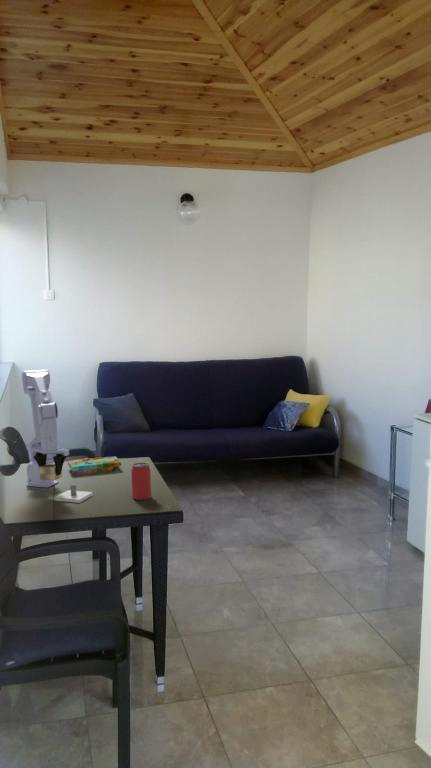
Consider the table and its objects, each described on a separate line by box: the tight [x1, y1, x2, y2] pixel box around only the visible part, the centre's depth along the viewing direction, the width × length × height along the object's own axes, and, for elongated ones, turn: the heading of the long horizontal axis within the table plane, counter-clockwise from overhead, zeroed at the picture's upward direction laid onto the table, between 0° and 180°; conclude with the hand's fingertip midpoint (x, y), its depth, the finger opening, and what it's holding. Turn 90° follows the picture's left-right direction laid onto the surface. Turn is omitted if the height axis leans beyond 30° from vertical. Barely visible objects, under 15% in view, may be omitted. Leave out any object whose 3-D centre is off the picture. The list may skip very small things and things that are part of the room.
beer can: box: [130, 462, 152, 501], centre depth 234 cm, size 7×7×12 cm
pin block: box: [54, 483, 94, 504], centre depth 236 cm, size 10×9×5 cm
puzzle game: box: [67, 456, 122, 476], centre depth 275 cm, size 12×5×20 cm
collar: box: [39, 463, 63, 481], centre depth 238 cm, size 6×6×4 cm
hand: (51, 474), depth 238 cm, fingers closed on collar, 6 cm apart
